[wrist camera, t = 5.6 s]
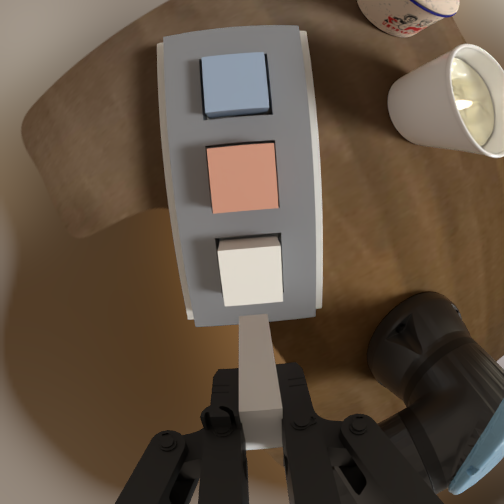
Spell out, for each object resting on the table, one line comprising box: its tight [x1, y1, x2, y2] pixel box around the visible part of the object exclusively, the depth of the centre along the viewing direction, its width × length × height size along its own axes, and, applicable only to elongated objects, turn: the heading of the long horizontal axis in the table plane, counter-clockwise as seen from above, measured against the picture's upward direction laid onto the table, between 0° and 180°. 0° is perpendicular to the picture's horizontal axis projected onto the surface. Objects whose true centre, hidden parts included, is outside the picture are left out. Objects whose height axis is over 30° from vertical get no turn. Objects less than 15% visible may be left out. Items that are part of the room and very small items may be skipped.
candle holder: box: [388, 44, 504, 158], centre depth 19 cm, size 10×10×12 cm
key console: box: [157, 25, 323, 327], centre depth 25 cm, size 30×15×4 cm, turn 5°
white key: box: [218, 236, 283, 306], centre depth 25 cm, size 5×5×3 cm
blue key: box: [202, 52, 269, 118], centre depth 21 cm, size 5×5×3 cm
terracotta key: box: [207, 143, 278, 214], centre depth 22 cm, size 5×5×3 cm
